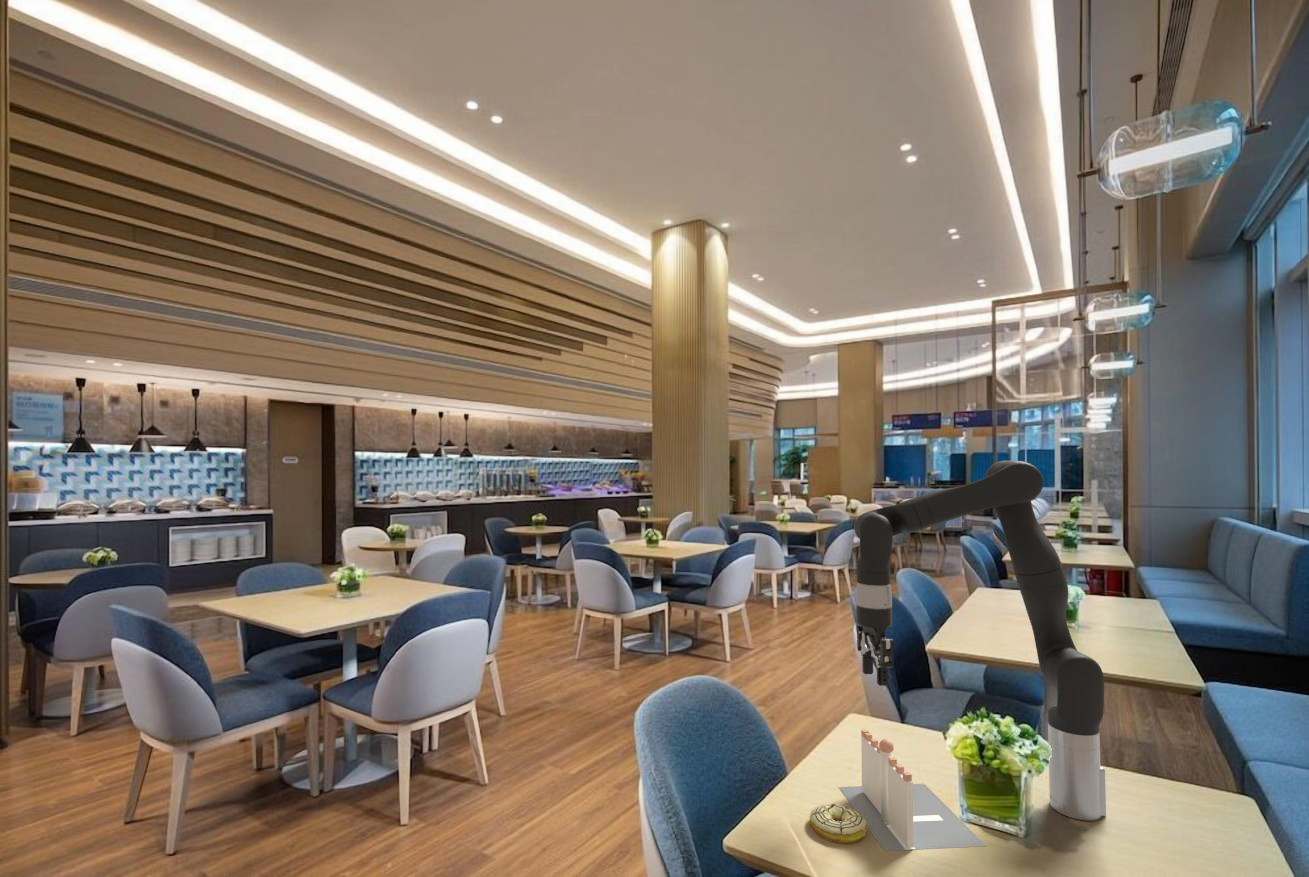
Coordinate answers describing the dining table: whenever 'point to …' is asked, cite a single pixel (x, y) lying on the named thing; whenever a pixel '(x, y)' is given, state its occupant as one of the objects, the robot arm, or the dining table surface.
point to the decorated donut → (838, 823)
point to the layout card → (916, 822)
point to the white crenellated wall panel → (871, 769)
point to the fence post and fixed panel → (896, 794)
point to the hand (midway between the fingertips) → (874, 678)
